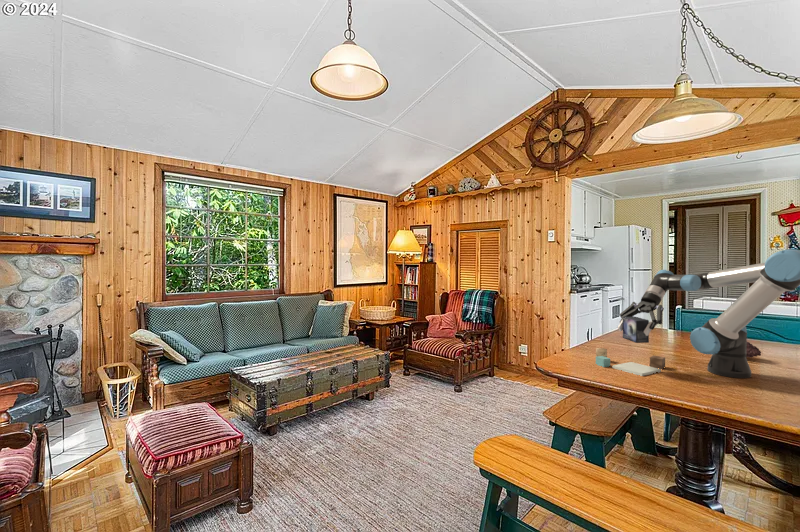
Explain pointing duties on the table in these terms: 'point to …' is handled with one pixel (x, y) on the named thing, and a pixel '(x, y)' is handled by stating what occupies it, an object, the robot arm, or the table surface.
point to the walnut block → (657, 362)
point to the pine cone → (752, 350)
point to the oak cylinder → (601, 352)
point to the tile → (636, 368)
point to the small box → (635, 329)
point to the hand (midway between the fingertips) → (632, 331)
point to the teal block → (603, 361)
